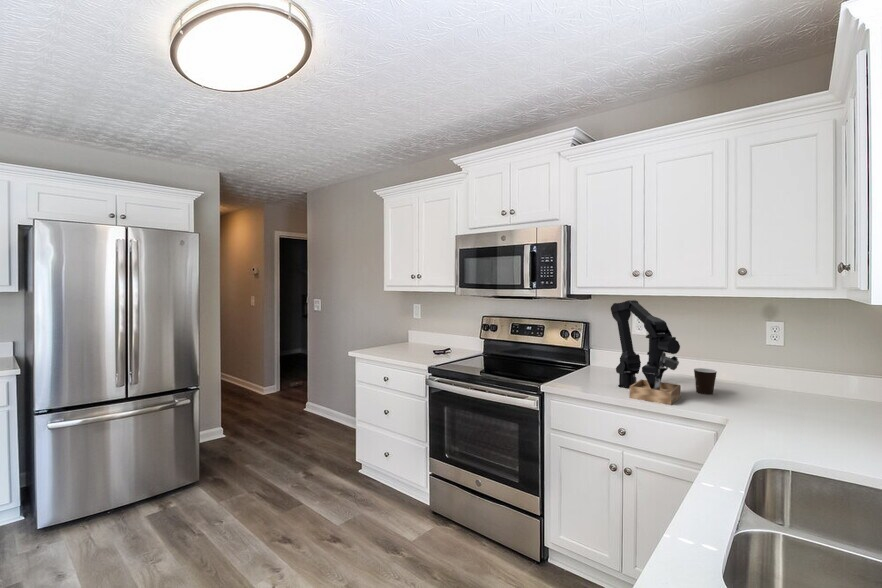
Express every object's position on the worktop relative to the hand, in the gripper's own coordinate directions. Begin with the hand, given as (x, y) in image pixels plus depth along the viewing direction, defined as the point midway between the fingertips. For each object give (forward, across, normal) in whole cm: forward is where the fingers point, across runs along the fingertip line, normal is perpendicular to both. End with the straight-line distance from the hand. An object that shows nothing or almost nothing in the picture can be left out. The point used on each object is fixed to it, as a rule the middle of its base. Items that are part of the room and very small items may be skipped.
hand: (655, 386), depth 190 cm
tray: (+5, 0, 0) cm, 5 cm away
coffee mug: (+5, +23, -15) cm, 28 cm away
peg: (+5, 0, 0) cm, 5 cm away
